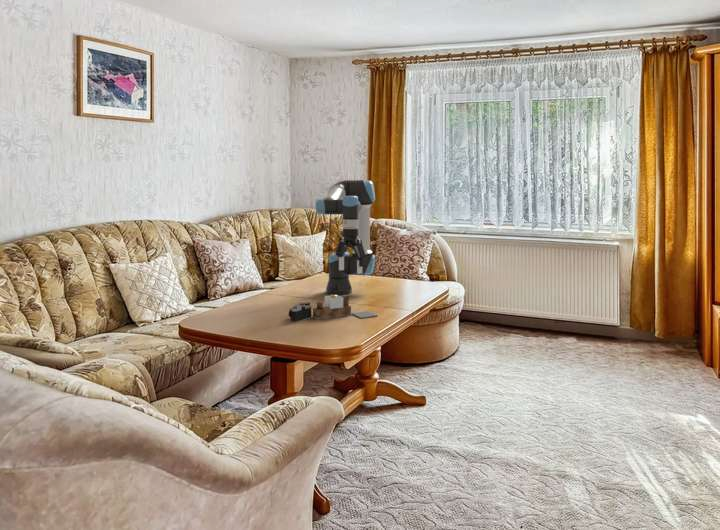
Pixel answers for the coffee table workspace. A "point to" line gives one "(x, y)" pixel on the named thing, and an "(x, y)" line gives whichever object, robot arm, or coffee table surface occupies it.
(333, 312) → the plane body
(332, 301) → the grey gold knob block
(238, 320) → the coffee table surface
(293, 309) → the camera
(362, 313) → the felt mat
